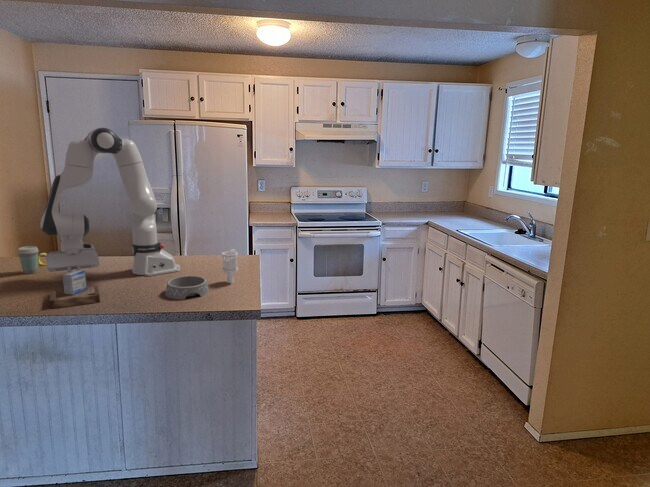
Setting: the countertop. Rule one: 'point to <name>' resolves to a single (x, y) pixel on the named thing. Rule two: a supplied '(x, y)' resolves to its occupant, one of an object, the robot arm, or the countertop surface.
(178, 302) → the countertop surface
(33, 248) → the coffee cup
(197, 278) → the dog bowl
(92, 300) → the brown u-shaped frame
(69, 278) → the medicine box
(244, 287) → the countertop surface
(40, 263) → the watch
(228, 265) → the white stemmed cylinder
